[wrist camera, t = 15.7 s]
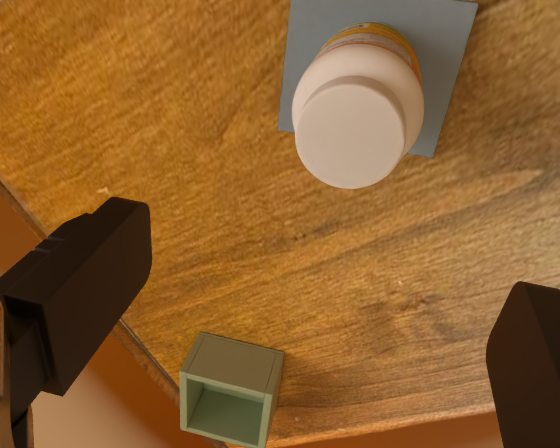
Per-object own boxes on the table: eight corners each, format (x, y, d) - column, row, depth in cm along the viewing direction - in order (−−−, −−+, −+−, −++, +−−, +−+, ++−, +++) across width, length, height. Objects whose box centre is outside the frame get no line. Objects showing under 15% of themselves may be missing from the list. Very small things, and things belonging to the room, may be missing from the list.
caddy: (198, 388, 43) (180, 429, 39) (199, 331, 39) (179, 371, 35) (276, 408, 42) (264, 452, 38) (284, 352, 38) (272, 395, 34)
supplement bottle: (387, 139, 27) (380, 229, 18) (300, 98, 26) (255, 170, 18) (440, 47, 24) (459, 106, 16) (342, 0, 23) (311, 35, 15)
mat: (279, 126, 28) (277, 130, 28) (295, -23, 24) (293, -23, 23) (431, 154, 27) (432, 158, 27) (477, 2, 23) (479, 3, 22)
